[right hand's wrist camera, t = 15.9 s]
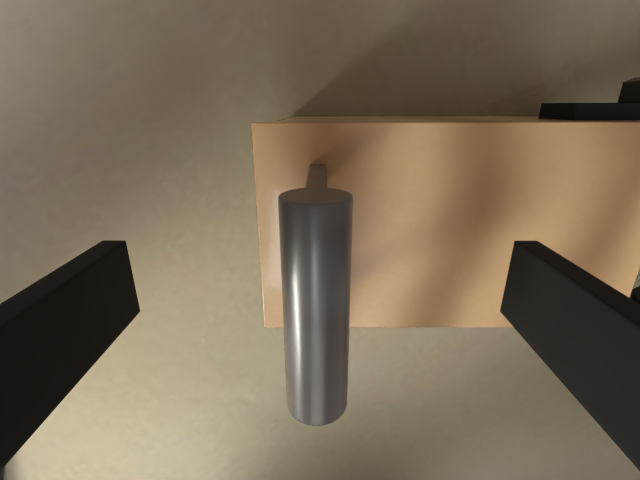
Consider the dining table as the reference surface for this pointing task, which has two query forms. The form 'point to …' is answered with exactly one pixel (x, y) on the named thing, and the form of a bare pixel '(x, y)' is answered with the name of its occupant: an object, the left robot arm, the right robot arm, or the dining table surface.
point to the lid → (426, 227)
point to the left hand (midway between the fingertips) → (533, 216)
